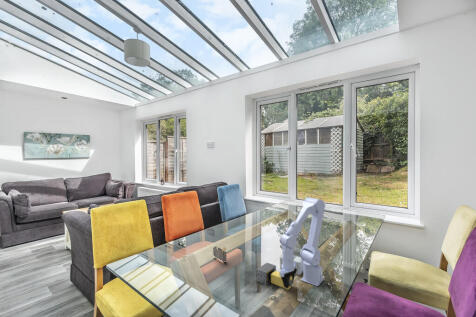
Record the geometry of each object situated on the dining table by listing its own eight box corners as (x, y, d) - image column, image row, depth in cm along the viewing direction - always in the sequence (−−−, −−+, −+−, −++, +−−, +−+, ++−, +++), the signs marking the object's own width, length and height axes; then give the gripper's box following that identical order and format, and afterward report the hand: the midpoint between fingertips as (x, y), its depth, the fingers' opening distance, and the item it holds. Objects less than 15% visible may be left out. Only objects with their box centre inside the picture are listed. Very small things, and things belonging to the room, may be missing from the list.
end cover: (293, 285, 114) (293, 276, 114) (289, 289, 111) (288, 280, 111) (275, 279, 121) (275, 270, 121) (271, 282, 118) (270, 274, 118)
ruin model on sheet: (226, 263, 143) (226, 247, 143) (223, 264, 141) (222, 249, 141) (217, 257, 152) (216, 243, 152) (213, 258, 150) (213, 244, 150)
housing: (276, 277, 124) (275, 265, 124) (266, 285, 116) (266, 272, 116) (266, 273, 128) (266, 262, 128) (256, 281, 120) (256, 269, 120)
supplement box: (285, 252, 139) (304, 257, 131) (285, 264, 139) (305, 270, 131) (279, 256, 133) (300, 262, 125) (279, 269, 133) (300, 275, 125)
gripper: (287, 251, 122) (288, 276, 122) (273, 261, 111) (274, 288, 111) (299, 255, 117) (300, 280, 117) (286, 265, 106) (287, 294, 106)
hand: (288, 285), depth 114 cm, fingers closed on end cover, 4 cm apart
